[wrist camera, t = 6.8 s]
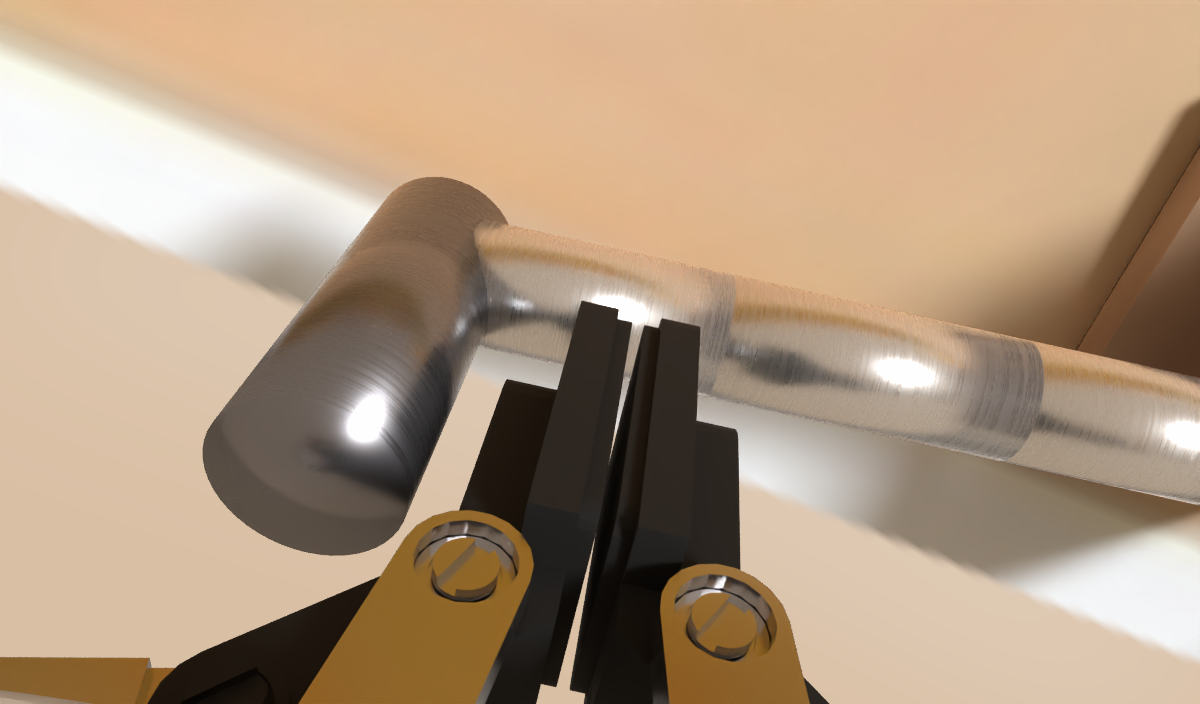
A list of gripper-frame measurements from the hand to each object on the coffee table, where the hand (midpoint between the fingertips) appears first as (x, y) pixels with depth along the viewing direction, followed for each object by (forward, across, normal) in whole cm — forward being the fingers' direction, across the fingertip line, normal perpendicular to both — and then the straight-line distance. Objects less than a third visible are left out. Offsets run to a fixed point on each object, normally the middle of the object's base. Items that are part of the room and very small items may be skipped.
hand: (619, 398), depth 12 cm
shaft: (+3, -6, 0) cm, 6 cm away
